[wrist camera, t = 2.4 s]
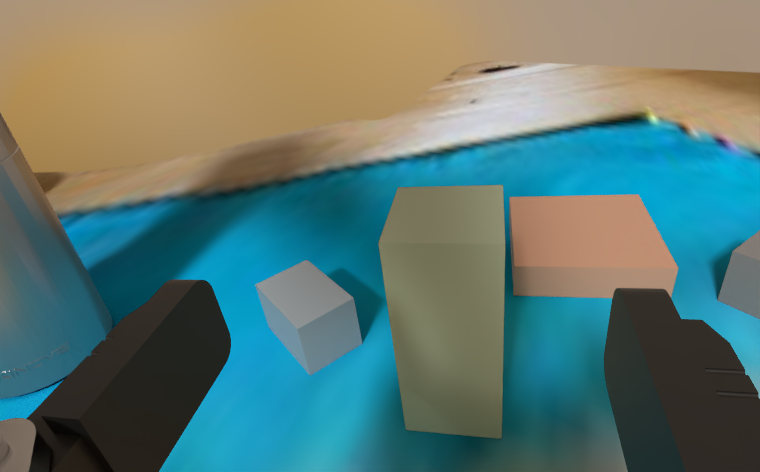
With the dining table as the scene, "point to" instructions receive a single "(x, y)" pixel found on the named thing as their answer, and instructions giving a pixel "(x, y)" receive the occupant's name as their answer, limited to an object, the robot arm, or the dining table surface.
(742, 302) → the grey rectangular block
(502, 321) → the sage tower brick
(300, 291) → the light gray block
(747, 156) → the dining table surface
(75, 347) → the robot arm
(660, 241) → the terracotta base brick
